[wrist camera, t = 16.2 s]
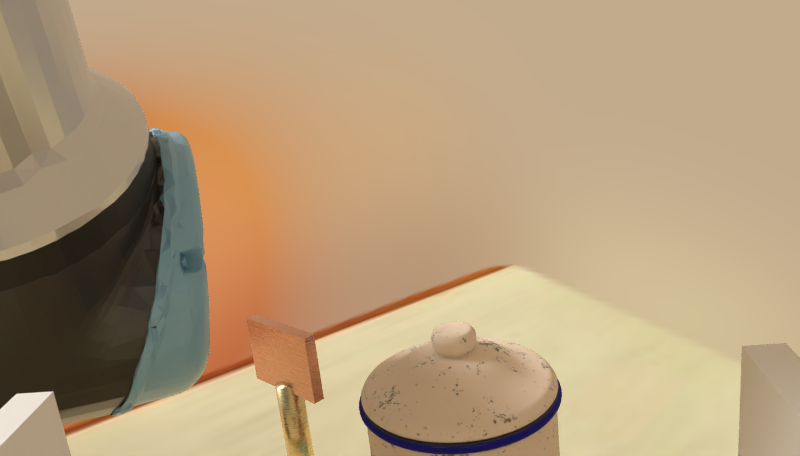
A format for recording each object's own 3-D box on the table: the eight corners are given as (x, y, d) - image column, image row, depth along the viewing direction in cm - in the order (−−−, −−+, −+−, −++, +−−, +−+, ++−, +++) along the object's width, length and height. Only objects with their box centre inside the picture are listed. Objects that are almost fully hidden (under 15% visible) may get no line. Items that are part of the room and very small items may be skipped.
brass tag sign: (247, 514, 42) (211, 333, 39) (315, 470, 46) (287, 300, 42) (302, 551, 39) (268, 356, 36) (372, 500, 42) (346, 318, 39)
